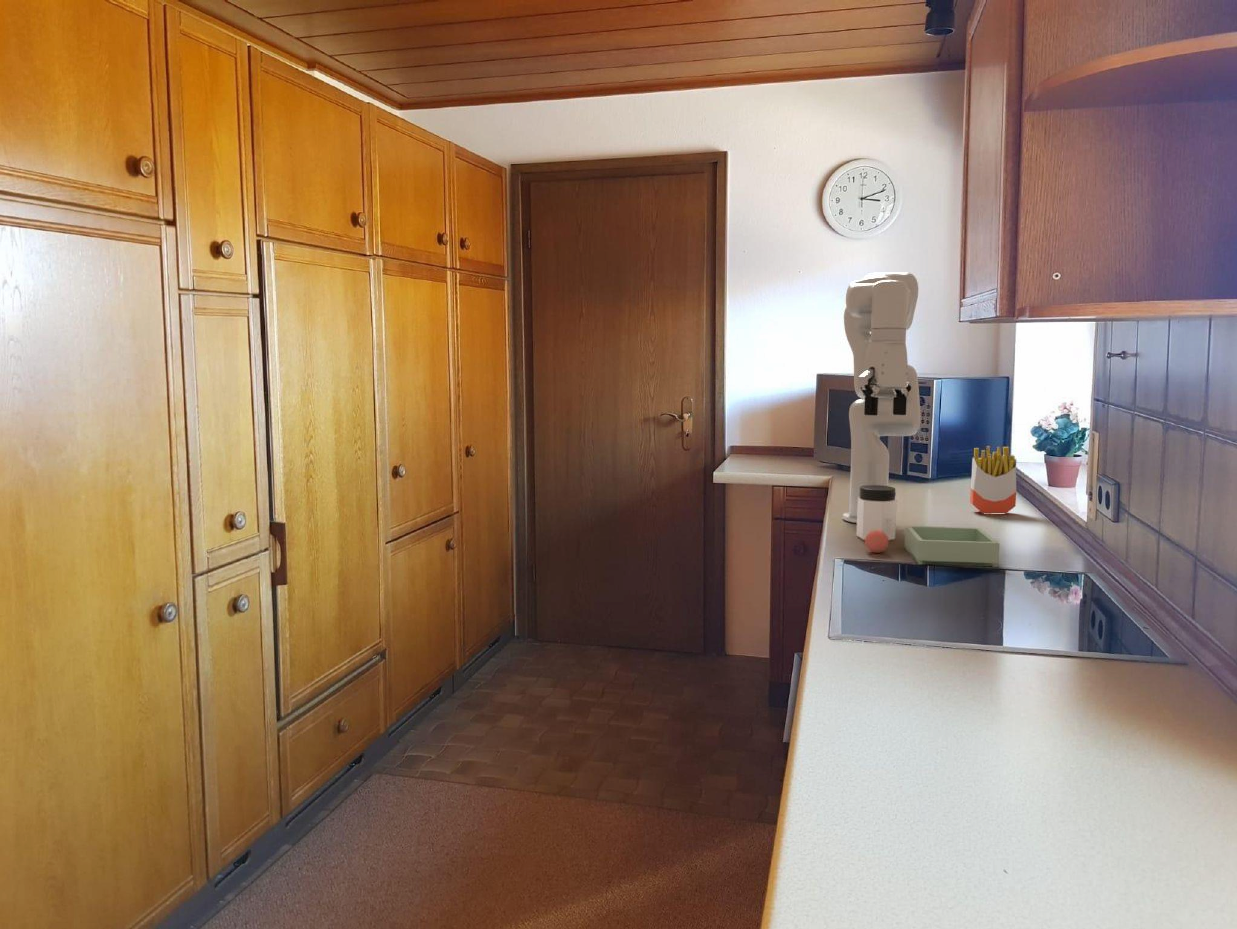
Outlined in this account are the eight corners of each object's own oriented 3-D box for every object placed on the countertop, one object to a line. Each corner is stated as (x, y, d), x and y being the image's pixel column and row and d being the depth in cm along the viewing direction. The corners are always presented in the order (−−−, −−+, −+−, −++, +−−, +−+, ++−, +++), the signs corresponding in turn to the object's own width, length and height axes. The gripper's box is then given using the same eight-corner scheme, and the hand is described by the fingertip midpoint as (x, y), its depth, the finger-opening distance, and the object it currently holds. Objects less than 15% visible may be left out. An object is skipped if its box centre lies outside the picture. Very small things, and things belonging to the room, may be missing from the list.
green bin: (904, 547, 209) (905, 525, 209) (978, 549, 207) (979, 527, 207) (917, 564, 194) (918, 540, 193) (997, 567, 192) (999, 543, 191)
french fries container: (1015, 515, 249) (1019, 448, 247) (972, 513, 251) (976, 447, 249) (1011, 512, 254) (1015, 446, 251) (969, 510, 256) (973, 445, 253)
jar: (876, 543, 214) (878, 491, 212) (849, 536, 221) (851, 486, 219) (902, 538, 219) (904, 488, 217) (875, 532, 226) (877, 483, 224)
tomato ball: (863, 549, 207) (864, 527, 206) (886, 550, 206) (887, 528, 206) (866, 554, 202) (867, 532, 202) (889, 555, 202) (890, 532, 201)
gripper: (899, 339, 214) (896, 414, 215) (848, 336, 204) (845, 414, 205) (927, 338, 208) (923, 415, 209) (876, 335, 198) (873, 416, 199)
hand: (885, 415), depth 207 cm, fingers open, 9 cm apart
